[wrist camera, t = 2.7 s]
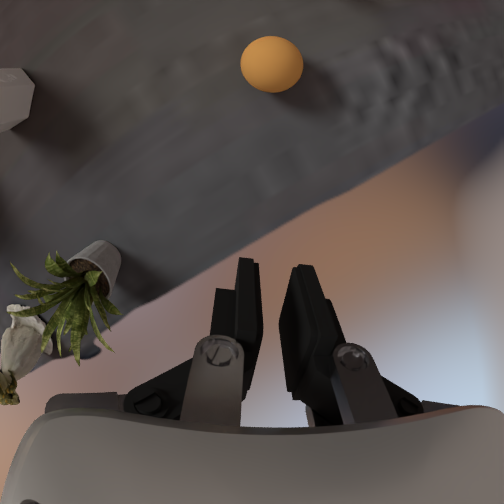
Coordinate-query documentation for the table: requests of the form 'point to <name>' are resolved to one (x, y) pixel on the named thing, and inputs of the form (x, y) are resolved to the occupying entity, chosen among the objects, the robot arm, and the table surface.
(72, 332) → the house plant
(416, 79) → the table surface
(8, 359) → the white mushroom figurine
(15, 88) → the jar
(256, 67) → the ball
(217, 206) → the table surface
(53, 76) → the table surface
